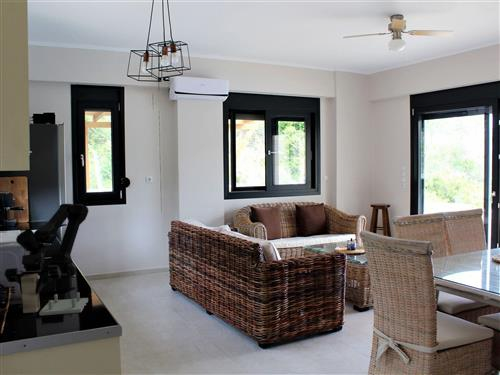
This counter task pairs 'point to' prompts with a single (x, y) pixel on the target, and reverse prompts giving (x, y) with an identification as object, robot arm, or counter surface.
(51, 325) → the counter surface
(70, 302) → the base plate
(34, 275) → the maple block
